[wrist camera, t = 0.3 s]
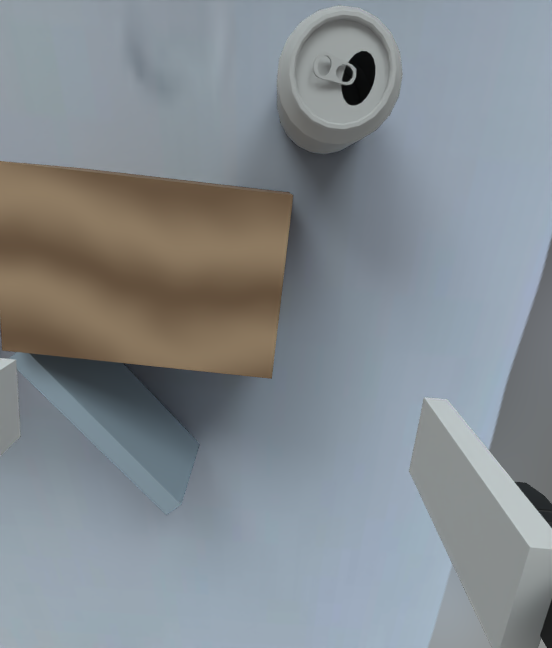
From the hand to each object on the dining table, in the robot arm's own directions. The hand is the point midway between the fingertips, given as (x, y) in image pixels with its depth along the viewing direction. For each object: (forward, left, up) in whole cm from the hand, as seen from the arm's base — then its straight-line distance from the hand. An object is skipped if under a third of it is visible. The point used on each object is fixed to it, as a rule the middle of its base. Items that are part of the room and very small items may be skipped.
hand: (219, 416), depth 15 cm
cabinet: (-1, -7, -28) cm, 28 cm away
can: (-14, +4, -28) cm, 31 cm away
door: (+12, -11, -27) cm, 31 cm away
